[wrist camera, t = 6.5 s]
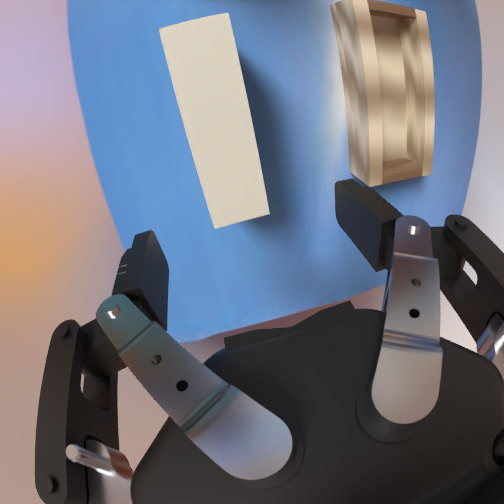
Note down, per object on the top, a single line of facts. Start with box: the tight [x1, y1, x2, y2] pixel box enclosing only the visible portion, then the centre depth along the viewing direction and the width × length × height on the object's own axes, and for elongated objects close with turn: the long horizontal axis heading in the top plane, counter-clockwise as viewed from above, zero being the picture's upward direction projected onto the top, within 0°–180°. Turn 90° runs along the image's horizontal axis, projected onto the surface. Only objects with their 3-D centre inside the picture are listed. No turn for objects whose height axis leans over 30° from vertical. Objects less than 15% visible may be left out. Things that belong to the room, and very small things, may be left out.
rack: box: [330, 0, 435, 187], centre depth 21 cm, size 18×9×4 cm, turn 11°
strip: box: [159, 13, 270, 229], centre depth 19 cm, size 14×4×8 cm, turn 11°
